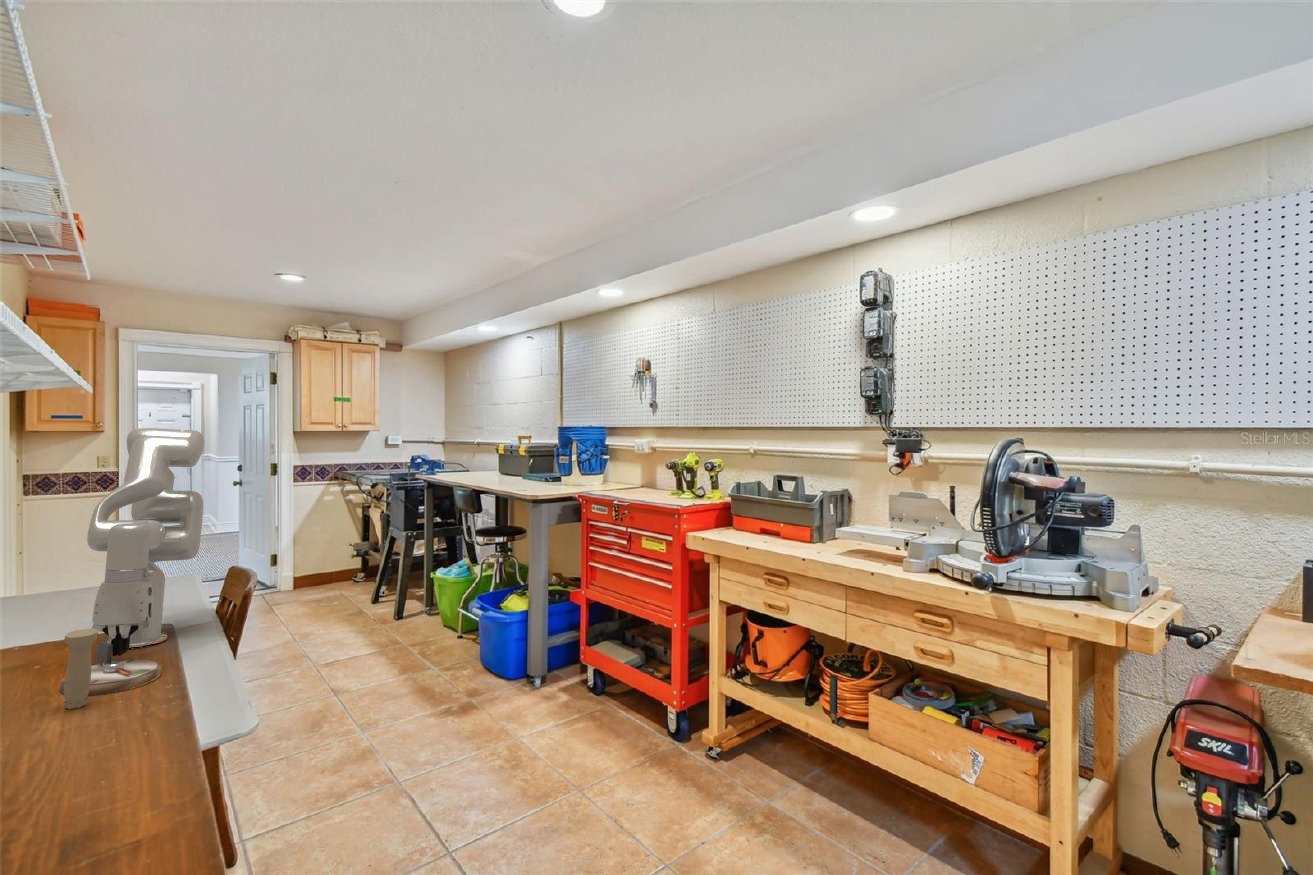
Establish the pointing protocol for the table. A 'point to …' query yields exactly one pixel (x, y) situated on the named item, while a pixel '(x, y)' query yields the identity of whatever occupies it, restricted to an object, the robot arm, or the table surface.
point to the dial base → (120, 677)
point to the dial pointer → (109, 659)
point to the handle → (78, 667)
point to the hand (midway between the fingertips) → (119, 654)
